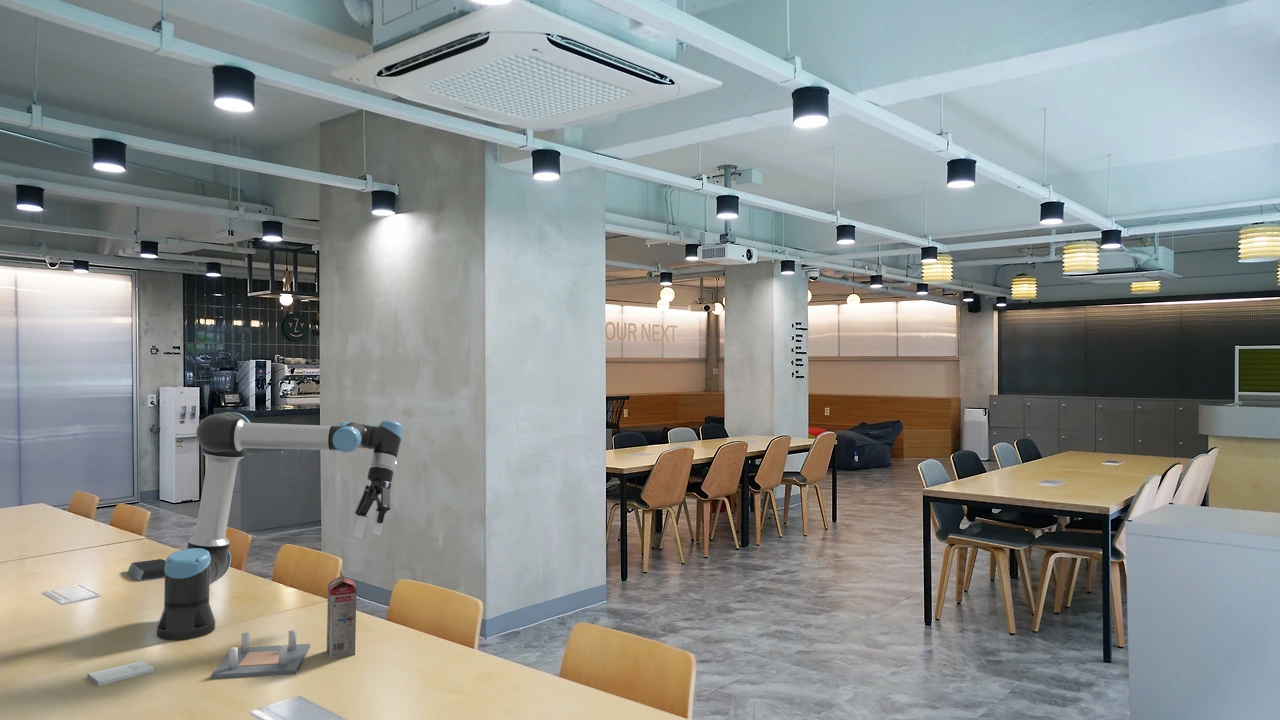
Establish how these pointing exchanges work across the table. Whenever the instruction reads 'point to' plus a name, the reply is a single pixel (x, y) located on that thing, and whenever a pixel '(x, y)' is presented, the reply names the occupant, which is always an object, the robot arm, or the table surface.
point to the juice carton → (341, 617)
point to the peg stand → (262, 659)
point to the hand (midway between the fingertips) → (366, 535)
